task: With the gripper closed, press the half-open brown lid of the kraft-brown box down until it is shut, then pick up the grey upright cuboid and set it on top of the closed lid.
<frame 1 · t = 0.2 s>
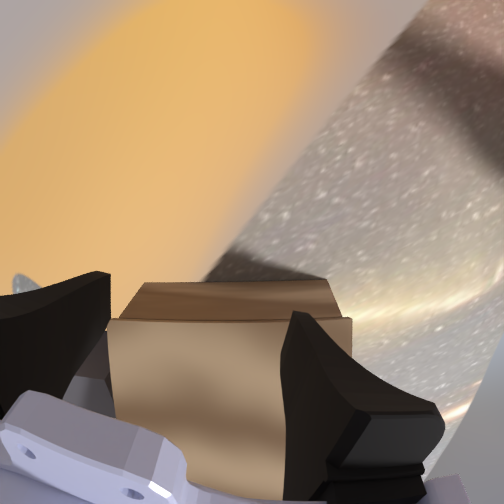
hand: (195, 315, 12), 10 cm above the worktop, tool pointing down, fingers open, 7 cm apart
grey upright cuboid: (106, 349, 25), on the worktop
lid: (228, 431, 17), point 8 cm above the worktop, hinge at 25.0°
box: (238, 356, 25), on the worktop
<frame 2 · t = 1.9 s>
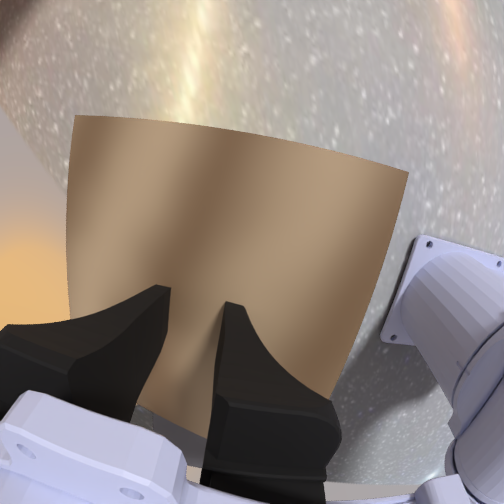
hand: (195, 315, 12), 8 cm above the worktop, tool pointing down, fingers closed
grey upright cuboid: (198, 383, 24), on the worktop
lid: (182, 304, 13), point 8 cm above the worktop, hinge at 17.6°, touching gripper
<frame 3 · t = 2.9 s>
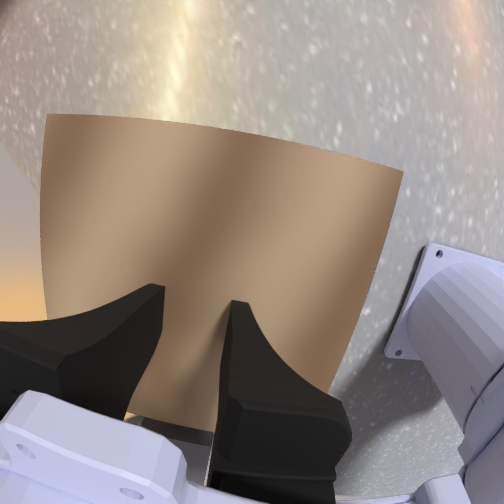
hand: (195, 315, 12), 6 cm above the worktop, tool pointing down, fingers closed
grey upright cuboid: (189, 401, 22), on the worktop
lid: (187, 307, 13), point 6 cm above the worktop, hinge at 0.0°
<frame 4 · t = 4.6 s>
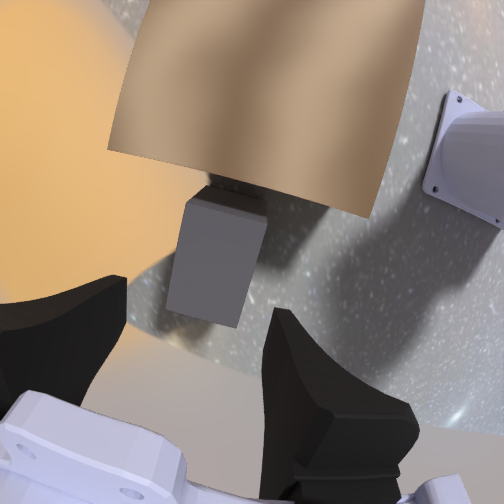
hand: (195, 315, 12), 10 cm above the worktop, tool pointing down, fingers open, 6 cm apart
grey upright cuboid: (224, 235, 22), on the worktop
lid: (275, 44, 13), point 6 cm above the worktop, hinge at 0.0°
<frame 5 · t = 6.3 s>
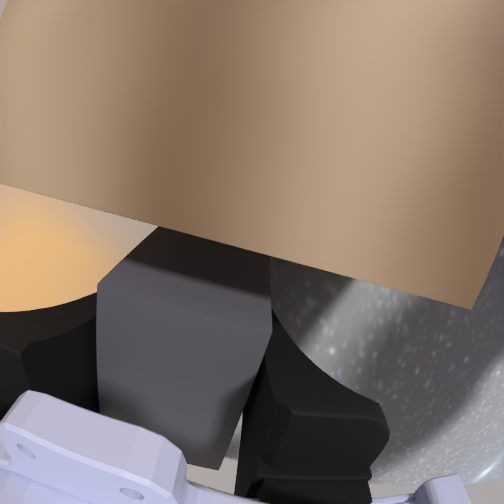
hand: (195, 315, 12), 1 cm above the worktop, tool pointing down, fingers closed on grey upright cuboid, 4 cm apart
grey upright cuboid: (201, 298, 13), on the worktop, touching gripper
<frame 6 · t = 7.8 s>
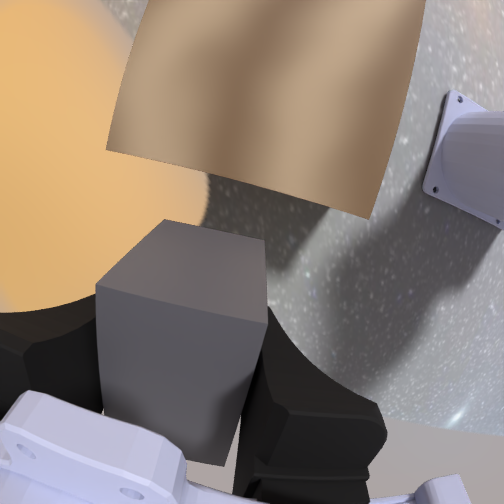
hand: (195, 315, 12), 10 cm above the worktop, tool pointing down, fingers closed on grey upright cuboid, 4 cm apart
grey upright cuboid: (201, 297, 14), point 9 cm above the worktop, touching gripper
lid: (275, 43, 13), point 6 cm above the worktop, hinge at 0.0°
when the fingers open (9 cm above the worktop, at t = 9.6 s): grey upright cuboid stays where it is, resting on lid.
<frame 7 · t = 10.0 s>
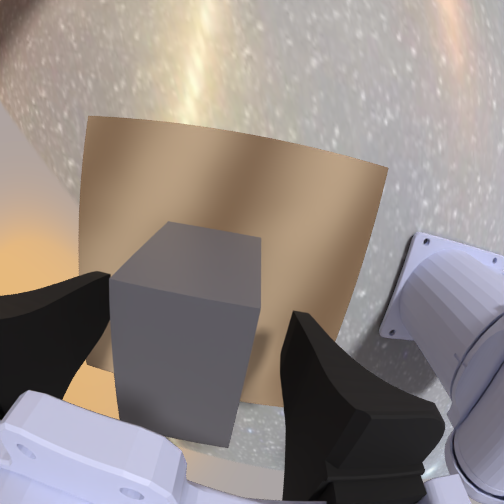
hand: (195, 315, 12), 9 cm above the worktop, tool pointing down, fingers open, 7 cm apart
grey upright cuboid: (205, 292, 15), point 6 cm above the worktop, touching lid
lid: (208, 281, 15), point 6 cm above the worktop, hinge at 0.0°, touching grey upright cuboid
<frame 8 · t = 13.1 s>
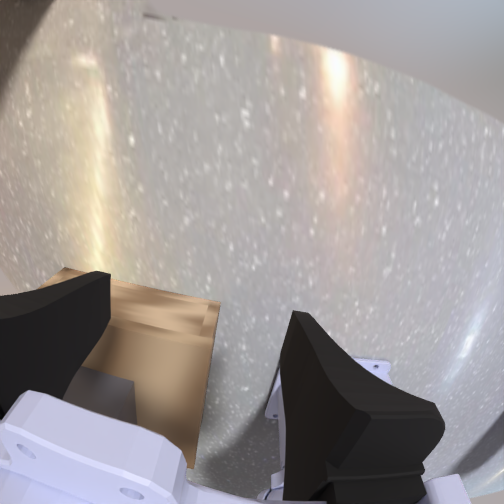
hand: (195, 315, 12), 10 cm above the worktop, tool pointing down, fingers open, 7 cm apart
grey upright cuboid: (110, 402, 20), point 6 cm above the worktop, touching lid
lid: (112, 395, 20), point 6 cm above the worktop, hinge at 0.0°, touching grey upright cuboid
box: (135, 351, 25), on the worktop
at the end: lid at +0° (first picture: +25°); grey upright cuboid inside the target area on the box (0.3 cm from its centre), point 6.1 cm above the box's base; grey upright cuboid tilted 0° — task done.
